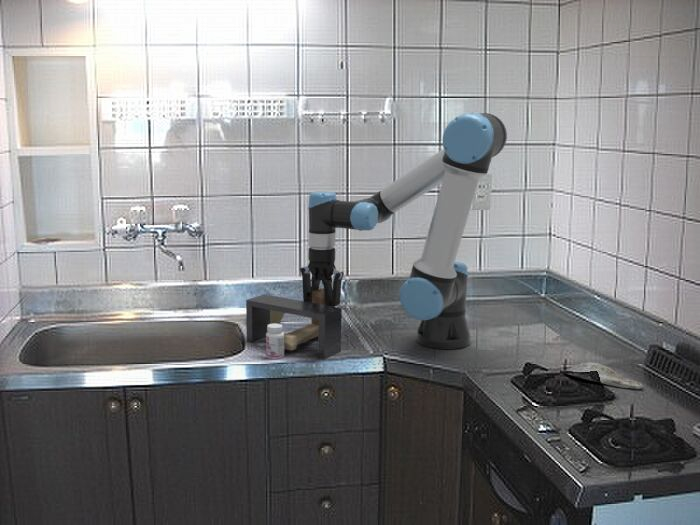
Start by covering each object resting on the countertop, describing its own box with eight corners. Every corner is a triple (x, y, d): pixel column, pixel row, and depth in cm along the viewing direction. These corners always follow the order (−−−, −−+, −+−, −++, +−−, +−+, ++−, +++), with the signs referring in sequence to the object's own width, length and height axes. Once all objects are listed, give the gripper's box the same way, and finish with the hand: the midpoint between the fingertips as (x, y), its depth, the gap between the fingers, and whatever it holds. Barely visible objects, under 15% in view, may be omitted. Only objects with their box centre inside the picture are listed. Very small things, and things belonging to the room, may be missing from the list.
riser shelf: (341, 351, 204) (341, 308, 202) (324, 359, 197) (325, 314, 195) (264, 334, 217) (264, 294, 215) (246, 341, 211) (246, 299, 208)
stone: (636, 404, 178) (648, 390, 185) (638, 391, 177) (651, 376, 184) (556, 379, 188) (571, 366, 196) (558, 365, 187) (573, 353, 195)
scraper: (335, 331, 217) (336, 290, 214) (291, 350, 199) (292, 306, 197) (315, 327, 220) (316, 287, 218) (270, 345, 203) (270, 302, 200)
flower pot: (286, 327, 225) (286, 304, 223) (252, 326, 225) (252, 303, 223) (289, 318, 234) (289, 295, 233) (257, 317, 235) (257, 295, 233)
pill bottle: (262, 356, 199) (262, 325, 197) (273, 352, 202) (273, 321, 201) (276, 360, 196) (276, 329, 194) (287, 355, 200) (287, 324, 198)
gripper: (354, 248, 211) (352, 329, 215) (305, 242, 219) (304, 320, 224) (339, 252, 204) (338, 336, 209) (289, 245, 213) (289, 326, 218)
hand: (321, 327), depth 217 cm, fingers closed on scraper, 3 cm apart
